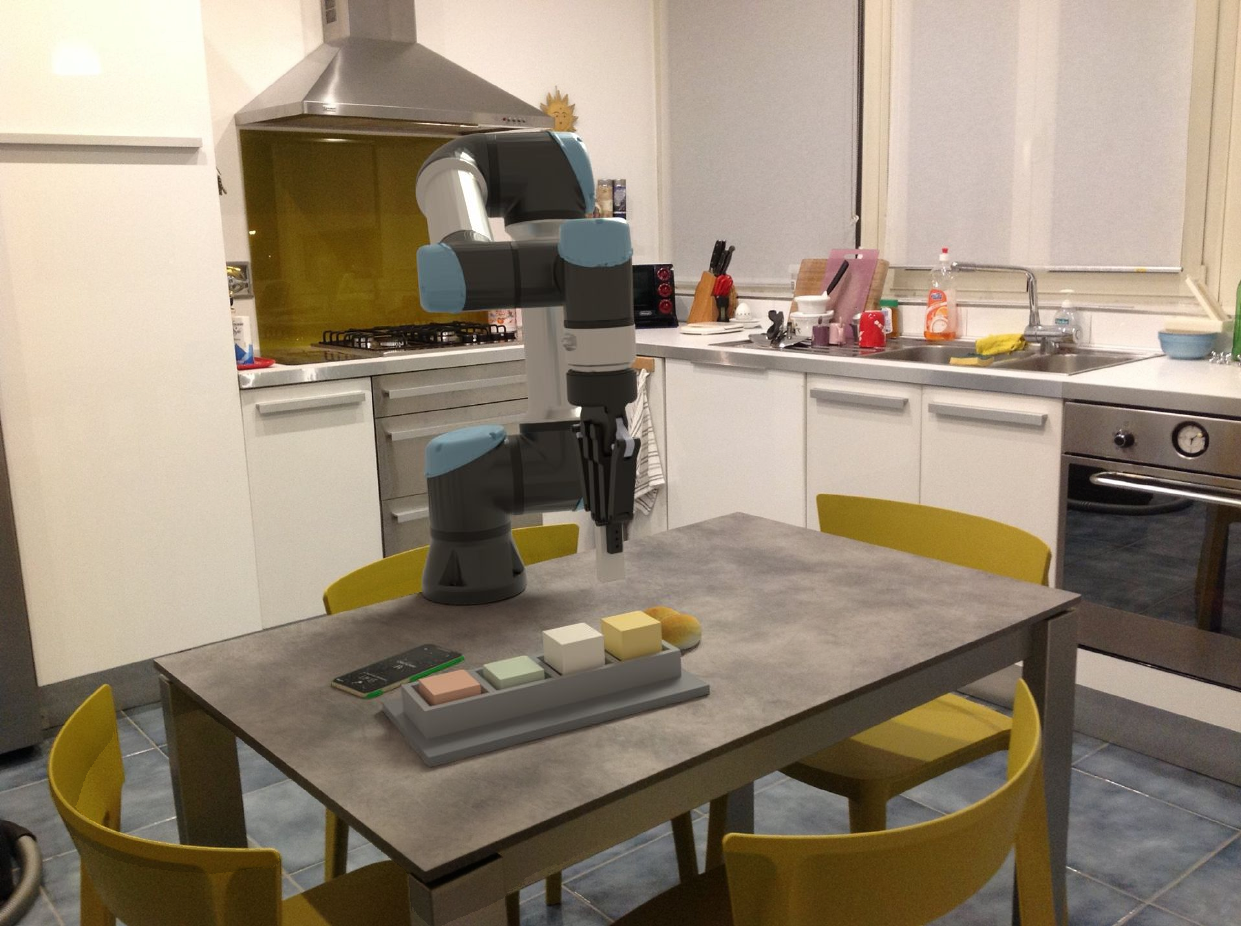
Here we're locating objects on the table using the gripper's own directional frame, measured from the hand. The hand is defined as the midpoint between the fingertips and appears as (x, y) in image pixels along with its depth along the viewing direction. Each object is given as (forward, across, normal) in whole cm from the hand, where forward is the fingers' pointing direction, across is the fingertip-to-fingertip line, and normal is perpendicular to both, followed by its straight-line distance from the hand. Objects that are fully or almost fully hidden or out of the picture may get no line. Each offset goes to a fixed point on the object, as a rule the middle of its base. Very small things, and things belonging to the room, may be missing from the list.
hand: (611, 579), depth 125 cm
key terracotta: (+11, +1, -19) cm, 22 cm away
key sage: (+11, 0, -12) cm, 17 cm away
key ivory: (+9, 0, -5) cm, 10 cm away
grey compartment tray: (+12, 0, -9) cm, 15 cm away
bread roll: (+13, -10, +12) cm, 20 cm away
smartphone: (+13, -17, -20) cm, 30 cm away
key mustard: (+9, 0, +2) cm, 9 cm away
